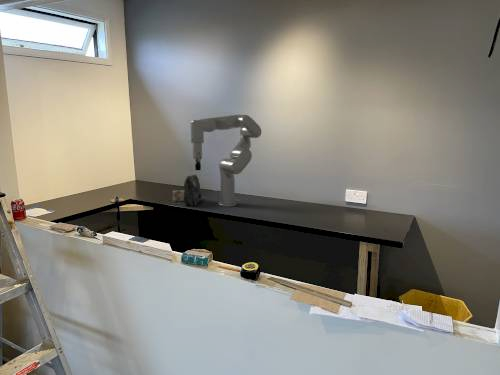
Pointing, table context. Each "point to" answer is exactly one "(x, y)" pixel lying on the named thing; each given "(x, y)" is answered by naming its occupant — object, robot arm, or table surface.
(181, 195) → the wooden board
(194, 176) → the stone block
